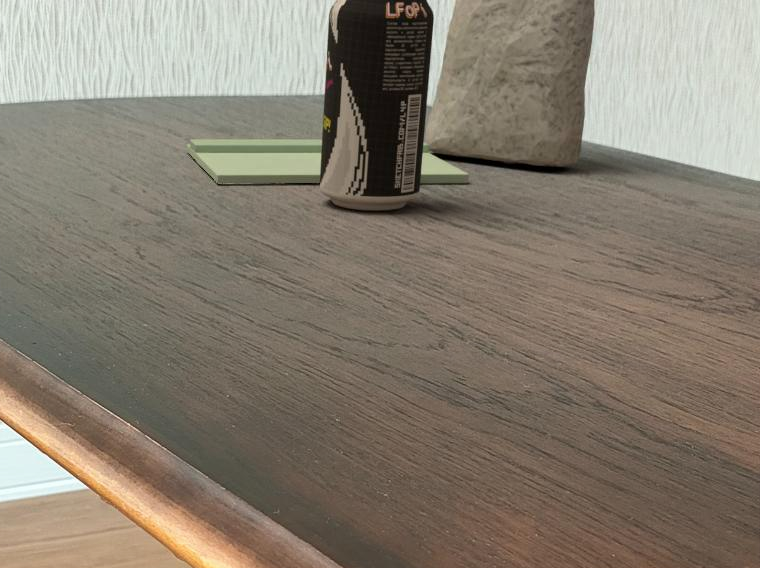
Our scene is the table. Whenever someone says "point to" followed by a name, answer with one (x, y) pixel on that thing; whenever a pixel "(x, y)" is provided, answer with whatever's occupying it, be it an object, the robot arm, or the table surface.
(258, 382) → the table surface
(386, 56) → the beverage can
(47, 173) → the table surface
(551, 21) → the decorative stone
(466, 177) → the green tray
